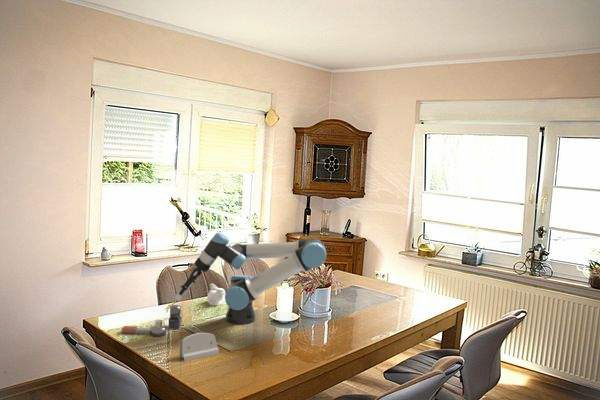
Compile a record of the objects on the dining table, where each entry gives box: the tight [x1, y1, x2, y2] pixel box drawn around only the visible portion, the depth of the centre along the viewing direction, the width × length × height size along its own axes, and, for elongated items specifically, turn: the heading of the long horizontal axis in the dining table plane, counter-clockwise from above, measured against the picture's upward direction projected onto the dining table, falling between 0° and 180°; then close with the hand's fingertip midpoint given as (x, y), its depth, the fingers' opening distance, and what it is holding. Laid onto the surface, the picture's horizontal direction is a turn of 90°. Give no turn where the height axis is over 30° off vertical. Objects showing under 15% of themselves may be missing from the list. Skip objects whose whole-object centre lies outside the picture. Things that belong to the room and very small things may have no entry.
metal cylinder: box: [168, 304, 182, 330], centre depth 255 cm, size 5×5×10 cm
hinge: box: [179, 332, 220, 362], centre depth 223 cm, size 17×5×10 cm, turn 127°
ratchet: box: [121, 319, 167, 338], centre depth 244 cm, size 20×7×6 cm, turn 90°
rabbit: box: [206, 283, 226, 307], centre depth 295 cm, size 12×9×12 cm
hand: (179, 295), depth 257 cm, fingers open, 13 cm apart
